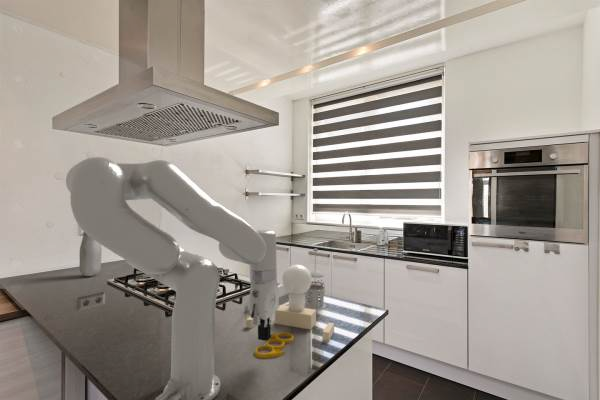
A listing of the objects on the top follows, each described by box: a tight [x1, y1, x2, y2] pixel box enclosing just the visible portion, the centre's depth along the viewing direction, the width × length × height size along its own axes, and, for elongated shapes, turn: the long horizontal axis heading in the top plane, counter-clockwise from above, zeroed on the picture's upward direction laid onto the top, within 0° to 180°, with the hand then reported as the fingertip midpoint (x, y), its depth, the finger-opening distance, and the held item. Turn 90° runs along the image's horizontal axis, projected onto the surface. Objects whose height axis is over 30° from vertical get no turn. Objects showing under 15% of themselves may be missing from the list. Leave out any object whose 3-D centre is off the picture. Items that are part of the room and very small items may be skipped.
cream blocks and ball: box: [245, 263, 335, 343], centre depth 109 cm, size 16×30×22 cm, turn 71°
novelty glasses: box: [254, 332, 295, 359], centre depth 93 cm, size 17×2×10 cm
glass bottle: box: [79, 231, 103, 277], centre depth 173 cm, size 10×10×28 cm
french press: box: [305, 248, 327, 311], centre depth 129 cm, size 10×12×25 cm
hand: (264, 338), depth 84 cm, fingers closed
